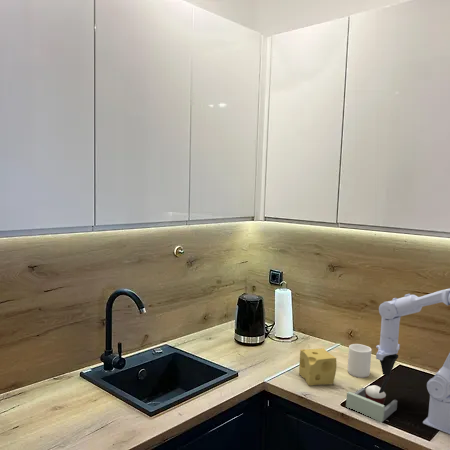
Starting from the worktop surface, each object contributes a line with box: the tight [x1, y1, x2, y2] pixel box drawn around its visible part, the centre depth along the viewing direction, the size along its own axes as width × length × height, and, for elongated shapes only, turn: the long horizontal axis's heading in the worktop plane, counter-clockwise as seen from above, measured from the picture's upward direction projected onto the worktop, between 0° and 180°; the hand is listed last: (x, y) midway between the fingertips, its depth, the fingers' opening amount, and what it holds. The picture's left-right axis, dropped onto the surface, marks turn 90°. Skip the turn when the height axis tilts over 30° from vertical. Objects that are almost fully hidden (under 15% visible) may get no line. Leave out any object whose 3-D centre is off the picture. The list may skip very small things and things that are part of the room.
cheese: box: [298, 348, 337, 387], centre depth 160 cm, size 10×11×10 cm
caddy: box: [345, 387, 398, 423], centre depth 140 cm, size 12×11×5 cm
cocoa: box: [365, 375, 391, 405], centre depth 142 cm, size 10×6×12 cm, turn 3°
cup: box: [347, 343, 372, 379], centre depth 168 cm, size 8×12×10 cm
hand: (386, 374), depth 146 cm, fingers closed
